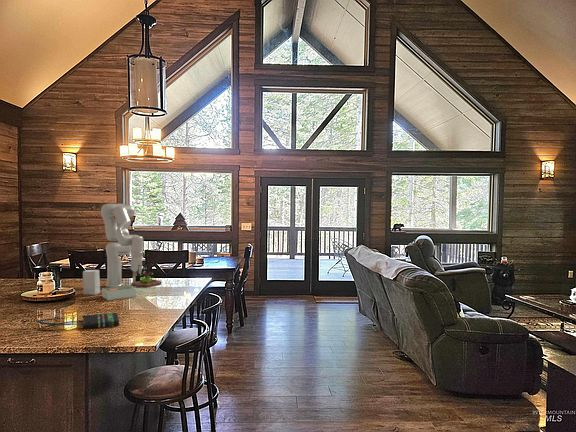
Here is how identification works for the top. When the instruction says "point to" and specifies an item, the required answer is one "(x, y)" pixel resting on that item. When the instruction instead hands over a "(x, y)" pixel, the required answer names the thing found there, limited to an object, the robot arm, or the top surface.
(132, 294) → the sage tote
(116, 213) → the robot arm
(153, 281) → the plant
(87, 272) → the skincare box
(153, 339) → the top surface
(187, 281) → the top surface
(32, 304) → the top surface
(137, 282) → the birch cylinder
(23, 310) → the top surface
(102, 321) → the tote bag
